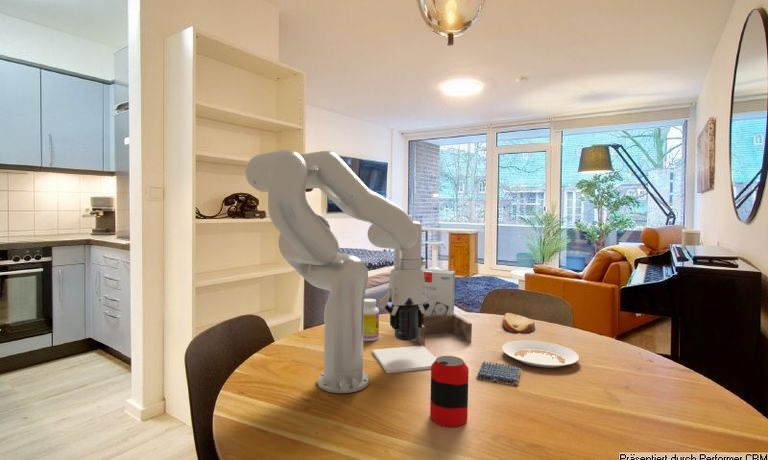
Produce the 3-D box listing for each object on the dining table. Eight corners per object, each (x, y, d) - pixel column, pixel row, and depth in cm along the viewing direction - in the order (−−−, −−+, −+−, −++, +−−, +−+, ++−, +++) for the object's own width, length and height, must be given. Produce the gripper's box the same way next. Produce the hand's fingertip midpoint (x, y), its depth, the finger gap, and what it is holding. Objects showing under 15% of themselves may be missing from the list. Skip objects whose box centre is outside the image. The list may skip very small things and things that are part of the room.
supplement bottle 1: (378, 342, 131) (378, 302, 131) (357, 341, 131) (358, 302, 131) (379, 335, 138) (379, 298, 137) (359, 335, 138) (359, 297, 137)
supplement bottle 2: (404, 332, 121) (404, 292, 120) (423, 337, 116) (424, 295, 116) (389, 338, 115) (390, 296, 115) (409, 343, 111) (409, 299, 110)
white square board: (443, 367, 111) (443, 364, 111) (387, 373, 106) (387, 370, 106) (422, 348, 126) (422, 345, 126) (372, 352, 122) (372, 349, 122)
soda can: (422, 417, 84) (423, 360, 83) (444, 405, 89) (446, 351, 89) (452, 432, 78) (454, 371, 78) (474, 418, 84) (476, 361, 83)
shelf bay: (471, 341, 133) (471, 323, 132) (421, 345, 128) (421, 327, 128) (455, 330, 144) (455, 314, 144) (408, 334, 140) (408, 317, 139)
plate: (503, 368, 111) (503, 360, 111) (500, 344, 131) (500, 337, 131) (586, 377, 106) (587, 368, 106) (570, 350, 126) (570, 343, 126)
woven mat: (521, 372, 109) (521, 365, 109) (518, 388, 99) (518, 380, 99) (481, 366, 113) (482, 359, 113) (475, 381, 103) (475, 373, 103)
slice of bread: (511, 317, 165) (511, 308, 165) (551, 328, 150) (551, 318, 150) (480, 323, 155) (480, 313, 155) (519, 336, 140) (519, 325, 140)
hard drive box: (410, 323, 153) (411, 270, 152) (414, 318, 161) (415, 268, 160) (451, 327, 149) (452, 273, 148) (454, 321, 156) (455, 270, 155)
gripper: (431, 262, 121) (430, 321, 122) (374, 263, 116) (373, 325, 117) (441, 265, 113) (440, 329, 114) (381, 267, 109) (380, 333, 110)
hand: (406, 326), depth 116 cm, fingers closed on supplement bottle 2, 6 cm apart
